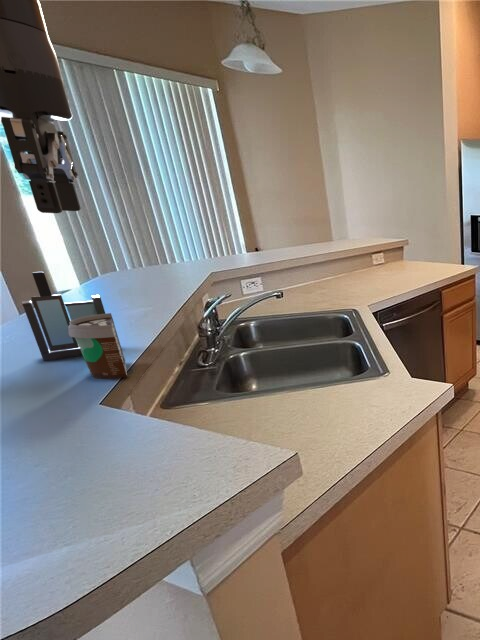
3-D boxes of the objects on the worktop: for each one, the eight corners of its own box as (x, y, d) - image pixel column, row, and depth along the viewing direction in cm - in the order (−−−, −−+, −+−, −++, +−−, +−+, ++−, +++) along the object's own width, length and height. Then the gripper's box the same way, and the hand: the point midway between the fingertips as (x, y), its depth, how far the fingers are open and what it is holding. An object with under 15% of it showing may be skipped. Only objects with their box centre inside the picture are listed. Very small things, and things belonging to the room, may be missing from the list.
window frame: (43, 361, 88) (22, 303, 84) (42, 357, 90) (21, 301, 85) (116, 350, 95) (100, 297, 91) (114, 347, 97) (98, 295, 93)
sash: (50, 351, 88) (22, 273, 83) (50, 350, 89) (21, 272, 83) (79, 347, 91) (53, 271, 86) (78, 346, 92) (52, 271, 86)
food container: (84, 367, 85) (67, 316, 82) (125, 361, 89) (110, 312, 85) (81, 386, 77) (61, 330, 73) (127, 379, 80) (110, 325, 77)
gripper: (1, 77, 58) (41, 209, 64) (-56, 48, 47) (0, 212, 53) (77, 88, 62) (109, 211, 68) (42, 64, 51) (83, 215, 56)
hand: (61, 211), depth 60 cm, fingers open, 8 cm apart
